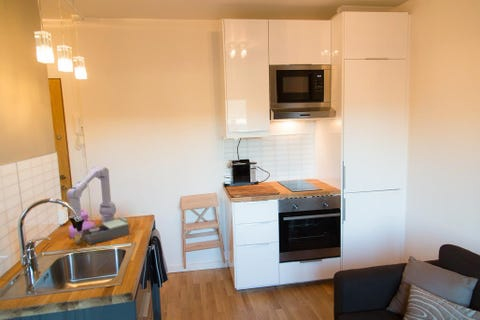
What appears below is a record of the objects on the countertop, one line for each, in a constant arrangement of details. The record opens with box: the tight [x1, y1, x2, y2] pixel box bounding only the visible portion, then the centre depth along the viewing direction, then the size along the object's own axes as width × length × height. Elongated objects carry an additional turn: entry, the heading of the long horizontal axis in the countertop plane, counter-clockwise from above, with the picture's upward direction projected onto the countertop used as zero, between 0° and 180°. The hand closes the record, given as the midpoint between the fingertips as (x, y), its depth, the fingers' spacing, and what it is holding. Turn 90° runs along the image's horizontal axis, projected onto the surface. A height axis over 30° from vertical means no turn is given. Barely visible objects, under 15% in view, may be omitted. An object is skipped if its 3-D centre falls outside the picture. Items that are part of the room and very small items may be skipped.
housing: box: [82, 224, 130, 246], centre depth 197 cm, size 14×24×6 cm, turn 133°
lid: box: [101, 215, 130, 229], centre depth 201 cm, size 14×12×3 cm
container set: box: [68, 209, 96, 240], centre depth 208 cm, size 25×15×13 cm, turn 23°
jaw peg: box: [74, 233, 84, 246], centre depth 188 cm, size 4×4×6 cm
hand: (77, 229), depth 187 cm, fingers open, 7 cm apart
